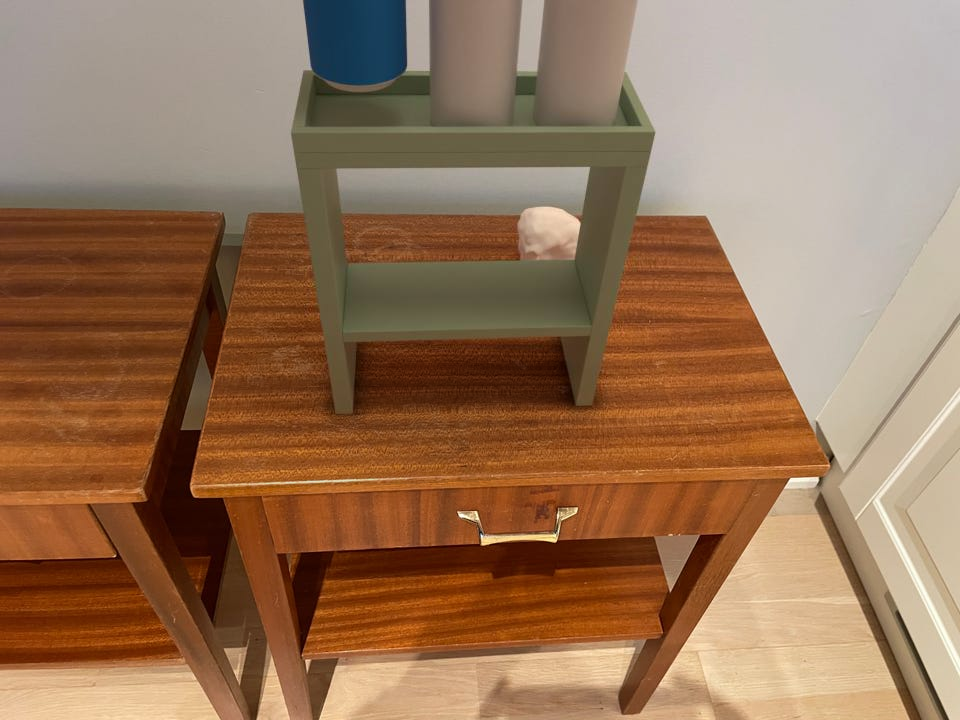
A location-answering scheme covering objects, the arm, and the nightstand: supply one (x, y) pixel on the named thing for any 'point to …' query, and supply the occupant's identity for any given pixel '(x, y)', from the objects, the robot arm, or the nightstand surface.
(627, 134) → the can shelf
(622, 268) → the shelf stand
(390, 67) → the beverage can
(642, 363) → the nightstand surface
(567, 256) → the pale pink lump
